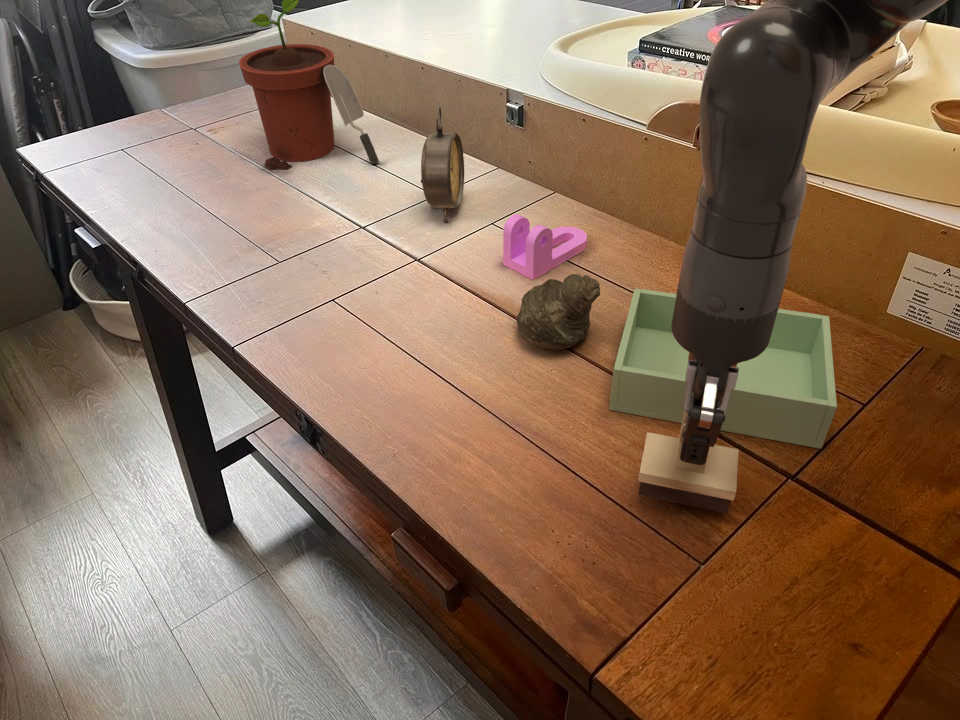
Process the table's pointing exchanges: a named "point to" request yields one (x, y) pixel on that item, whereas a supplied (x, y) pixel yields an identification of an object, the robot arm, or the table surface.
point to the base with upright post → (688, 473)
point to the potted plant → (299, 98)
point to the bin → (760, 384)
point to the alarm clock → (442, 169)
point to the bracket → (538, 246)
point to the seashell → (558, 311)
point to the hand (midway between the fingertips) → (693, 447)
